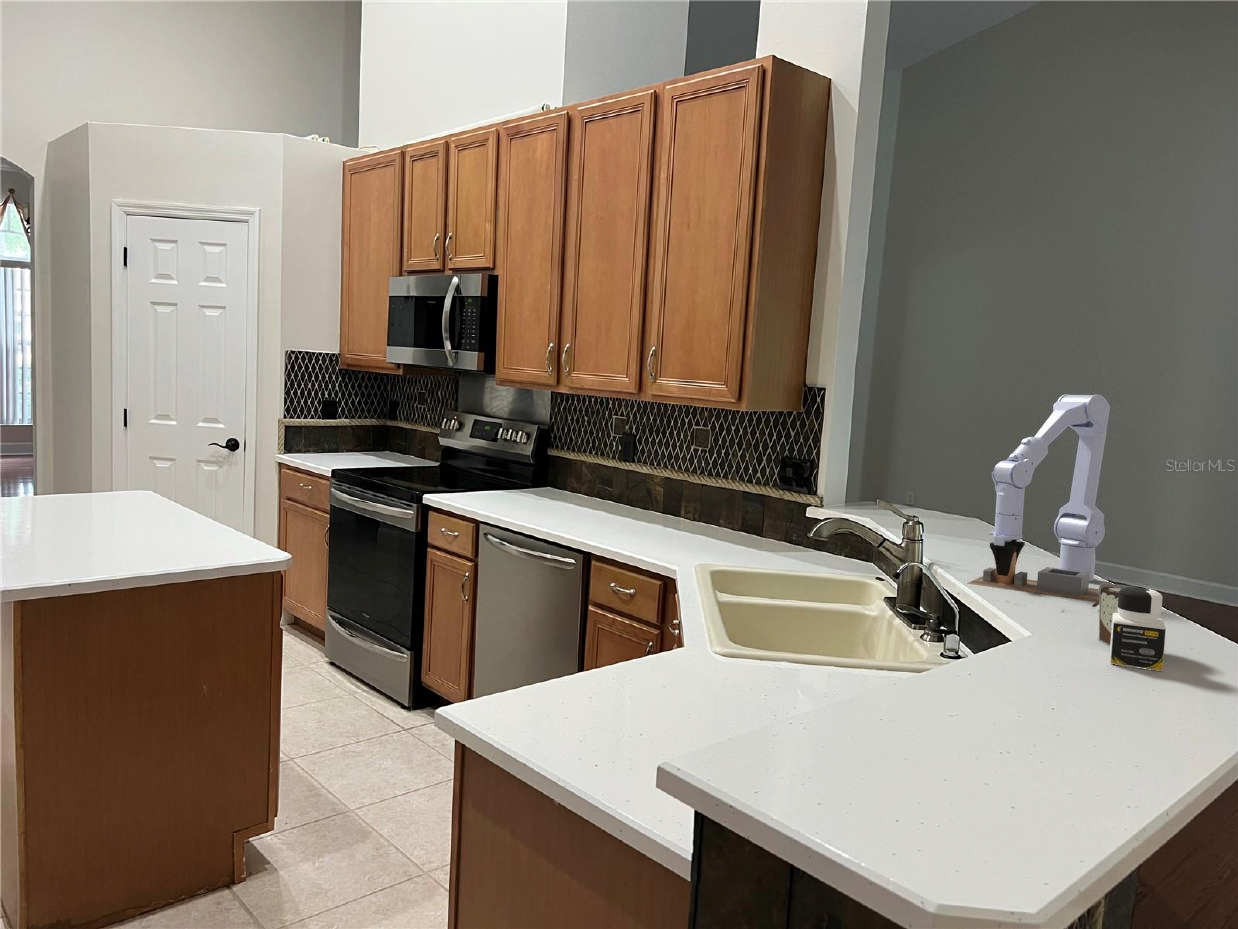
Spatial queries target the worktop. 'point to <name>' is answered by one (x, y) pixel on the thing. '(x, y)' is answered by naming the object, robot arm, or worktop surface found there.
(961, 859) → the worktop surface
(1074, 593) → the socket
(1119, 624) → the medicine bottle
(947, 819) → the worktop surface
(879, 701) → the worktop surface
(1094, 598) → the dock board
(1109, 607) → the food container
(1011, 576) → the peg
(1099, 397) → the robot arm
